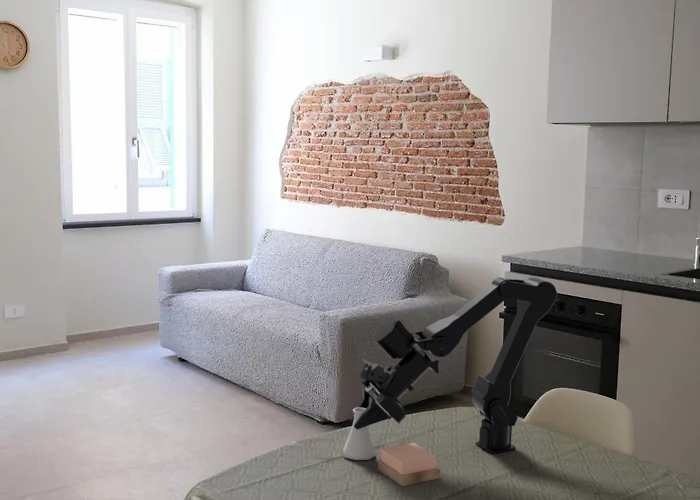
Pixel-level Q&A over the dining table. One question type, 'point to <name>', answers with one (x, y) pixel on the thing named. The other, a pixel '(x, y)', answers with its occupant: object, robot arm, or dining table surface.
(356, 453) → the flask
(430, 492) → the dining table surface
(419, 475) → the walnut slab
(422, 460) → the terracotta slab
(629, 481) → the dining table surface
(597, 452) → the dining table surface
